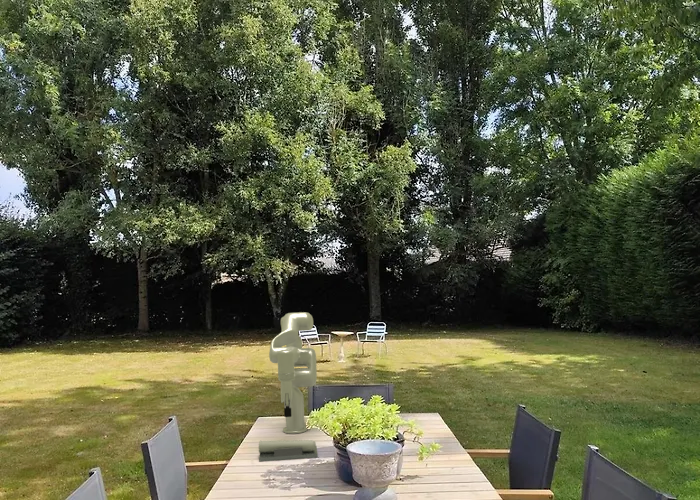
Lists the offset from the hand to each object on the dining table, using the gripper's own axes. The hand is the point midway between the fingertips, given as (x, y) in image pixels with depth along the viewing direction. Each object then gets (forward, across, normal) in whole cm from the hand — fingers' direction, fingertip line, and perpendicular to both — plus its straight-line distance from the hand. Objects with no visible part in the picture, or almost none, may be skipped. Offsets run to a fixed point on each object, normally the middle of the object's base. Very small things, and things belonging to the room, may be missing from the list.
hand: (287, 416), depth 260 cm
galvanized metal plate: (+14, +11, 0) cm, 18 cm away
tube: (+13, +11, 0) cm, 17 cm away
